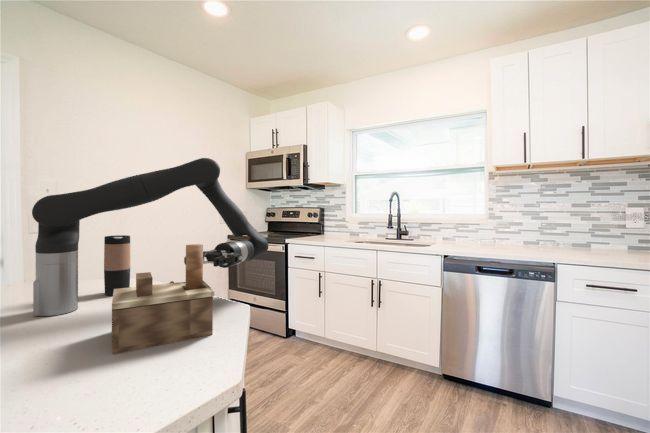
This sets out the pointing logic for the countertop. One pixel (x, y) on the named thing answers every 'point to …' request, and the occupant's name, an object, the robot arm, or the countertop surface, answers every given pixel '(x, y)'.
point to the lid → (155, 293)
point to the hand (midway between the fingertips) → (200, 261)
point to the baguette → (194, 266)
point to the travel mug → (116, 263)
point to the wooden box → (161, 324)
